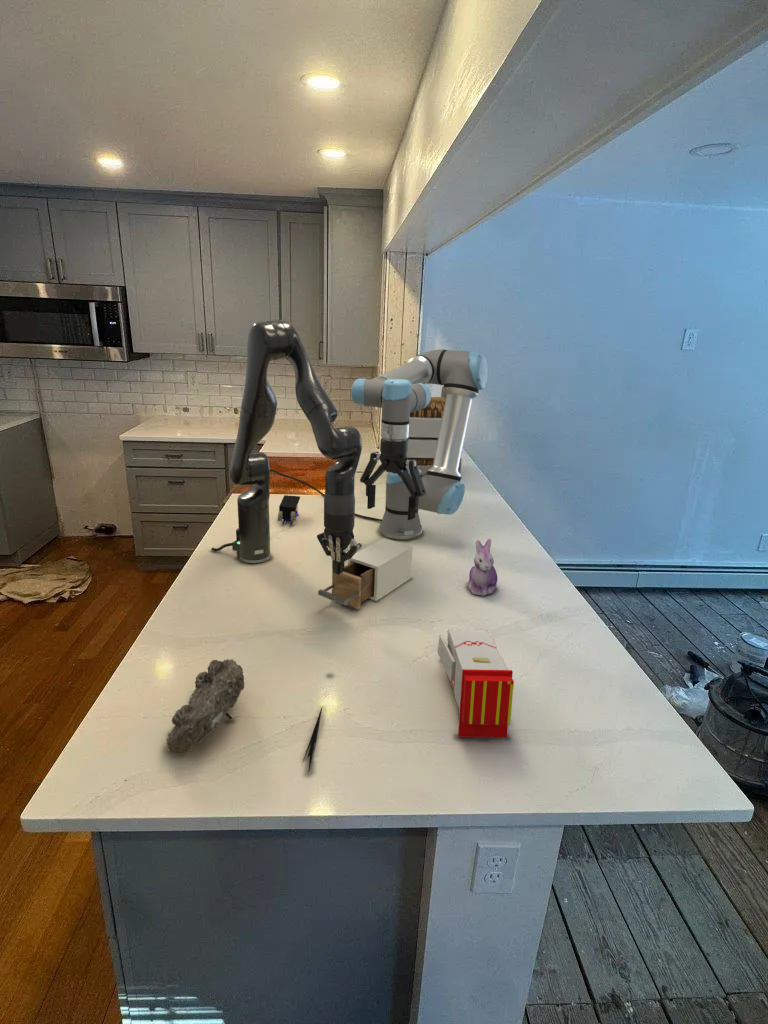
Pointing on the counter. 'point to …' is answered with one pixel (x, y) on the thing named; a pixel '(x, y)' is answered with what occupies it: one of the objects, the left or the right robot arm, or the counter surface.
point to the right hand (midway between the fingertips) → (390, 513)
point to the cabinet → (386, 564)
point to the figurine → (483, 571)
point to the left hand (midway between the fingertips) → (338, 572)
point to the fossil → (206, 705)
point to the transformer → (426, 432)
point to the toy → (478, 682)
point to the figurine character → (288, 509)
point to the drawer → (351, 585)
